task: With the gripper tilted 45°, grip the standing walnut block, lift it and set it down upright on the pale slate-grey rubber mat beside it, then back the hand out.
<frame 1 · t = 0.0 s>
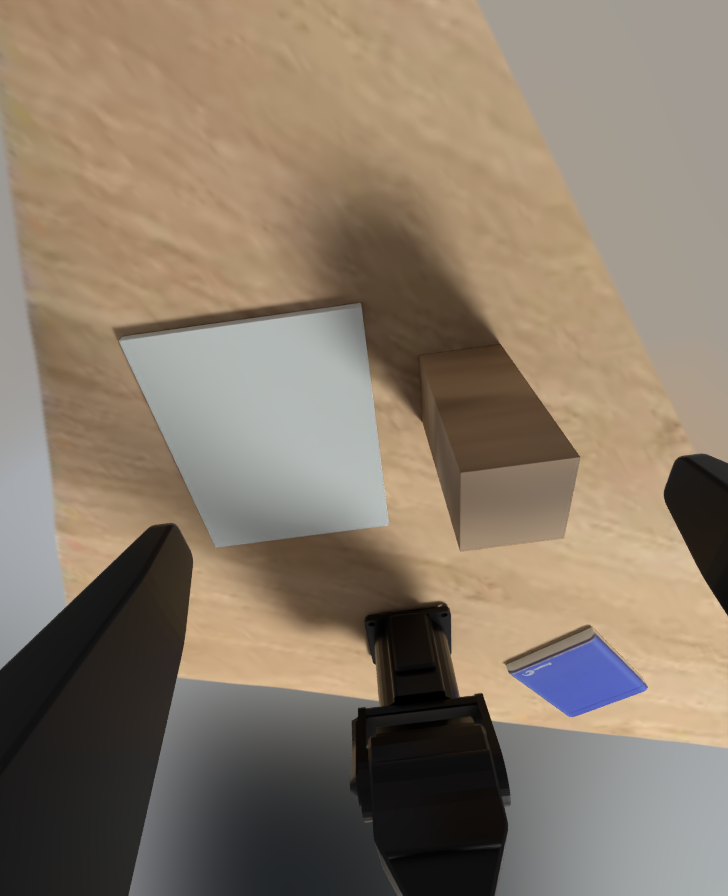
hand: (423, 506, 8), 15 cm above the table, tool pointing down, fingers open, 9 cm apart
mat: (276, 442, 25), on the table
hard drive: (574, 664, 43), on the table
walnut block: (459, 385, 24), on the table
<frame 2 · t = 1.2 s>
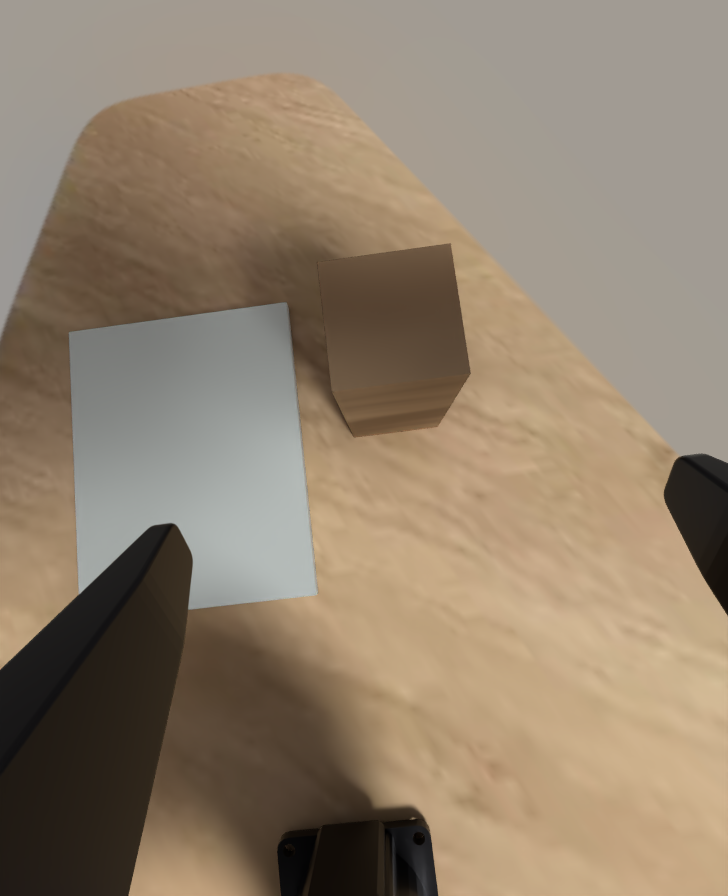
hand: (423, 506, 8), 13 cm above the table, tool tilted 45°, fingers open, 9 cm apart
mat: (190, 458, 23), on the table
walnut block: (390, 391, 23), on the table
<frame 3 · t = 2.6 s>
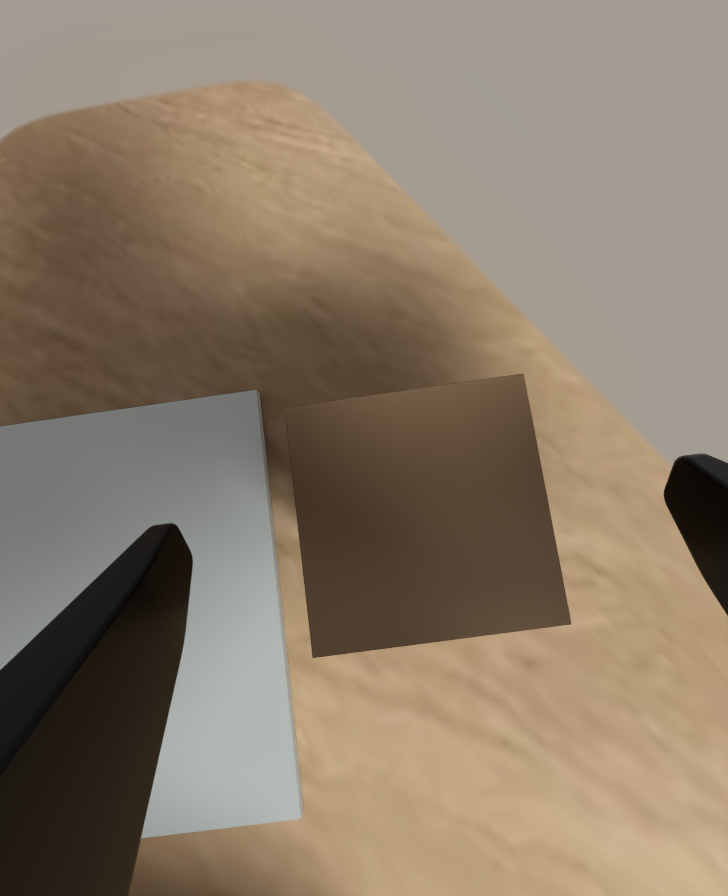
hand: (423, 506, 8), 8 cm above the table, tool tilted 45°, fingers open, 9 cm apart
mat: (124, 608, 16), on the table
walnut block: (400, 512, 16), on the table
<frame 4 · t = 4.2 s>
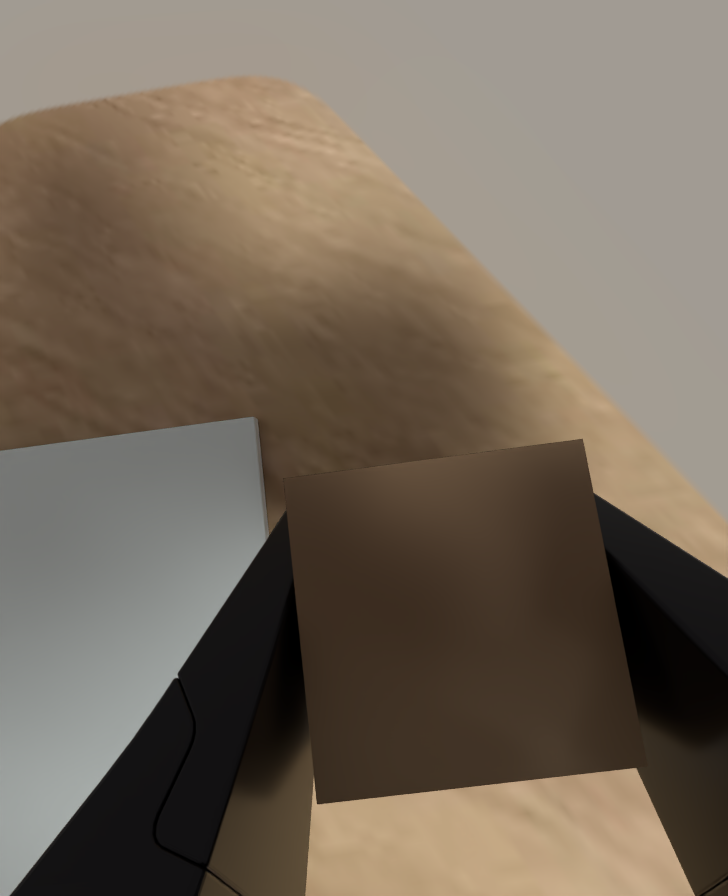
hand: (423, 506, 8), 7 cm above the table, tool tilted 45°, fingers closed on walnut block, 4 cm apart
mat: (107, 657, 15), on the table
walnut block: (412, 553, 15), on the table, touching gripper
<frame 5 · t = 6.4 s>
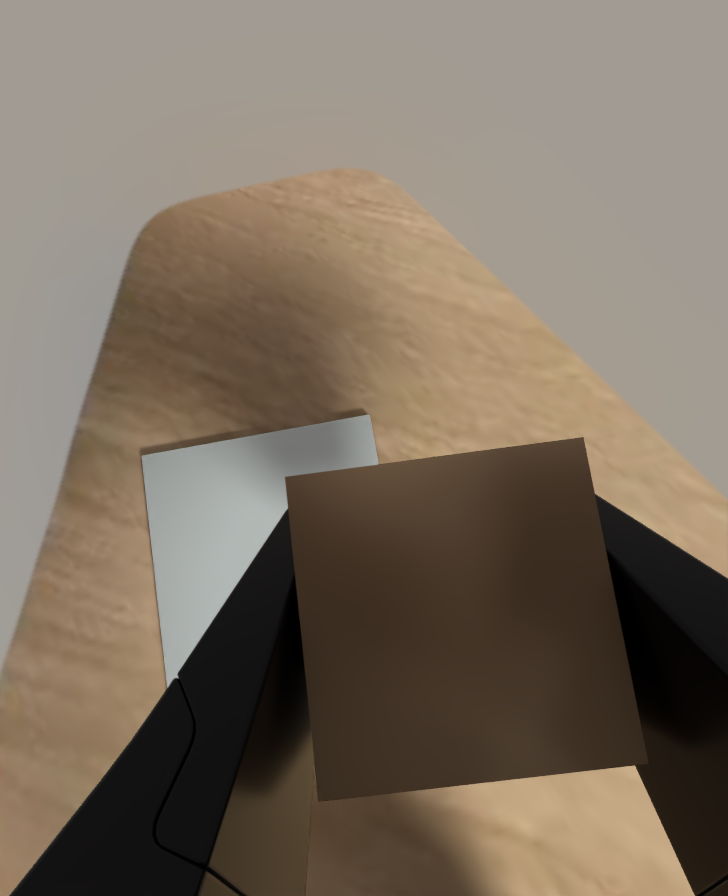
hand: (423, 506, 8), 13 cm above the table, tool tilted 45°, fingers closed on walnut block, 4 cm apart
mat: (279, 583, 22), on the table
walnut block: (412, 552, 15), point 7 cm above the table, touching gripper
when the fingers open (8 cm above the table, at t = 8.9 s): walnut block stays where it is, resting on mat.
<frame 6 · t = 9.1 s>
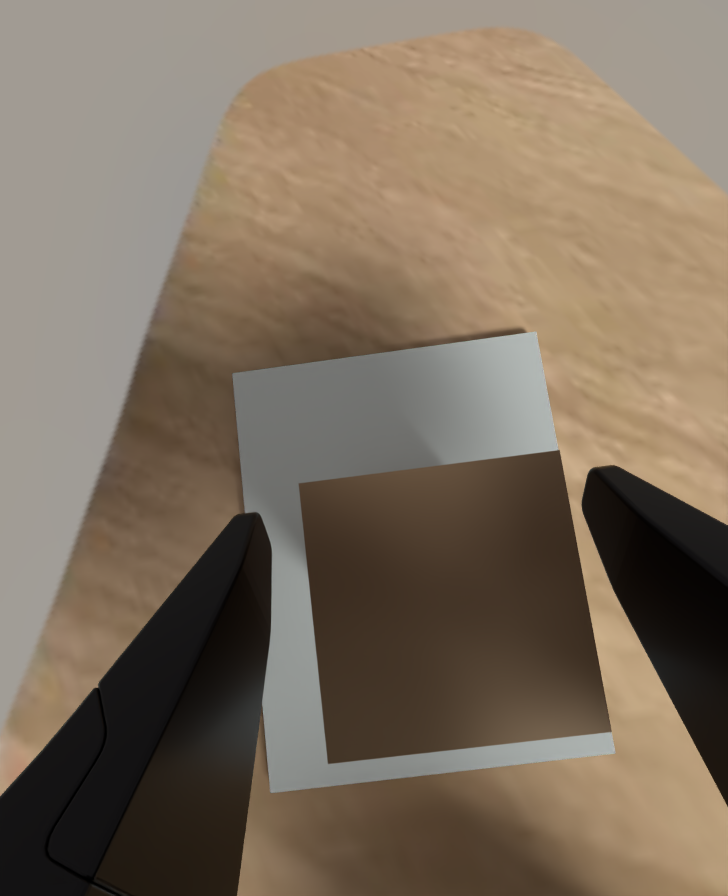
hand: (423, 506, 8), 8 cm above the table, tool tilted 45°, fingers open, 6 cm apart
mat: (409, 548, 16), on the table
walnut block: (411, 550, 16), resting on mat
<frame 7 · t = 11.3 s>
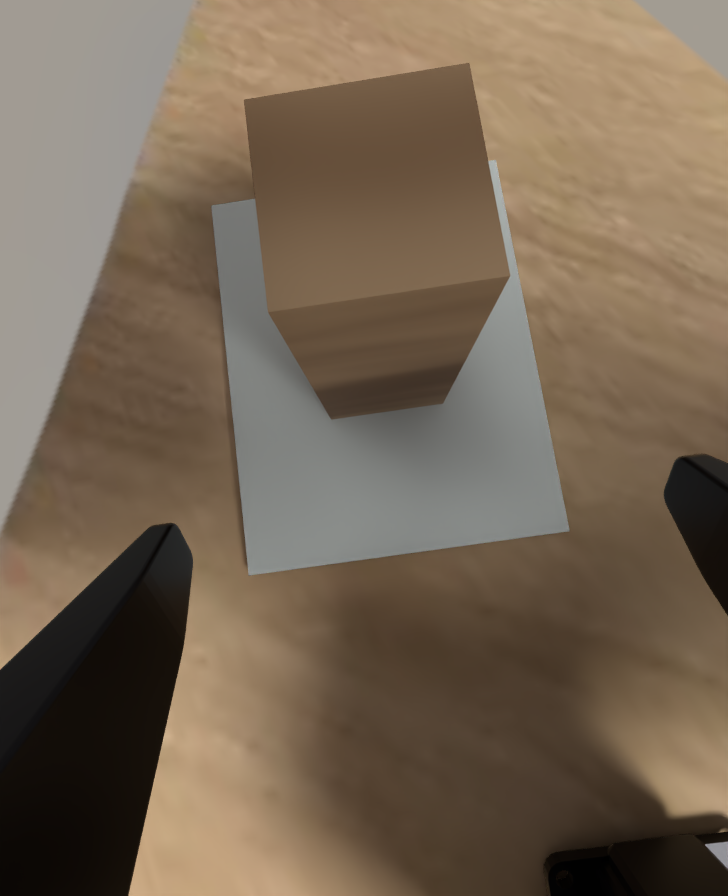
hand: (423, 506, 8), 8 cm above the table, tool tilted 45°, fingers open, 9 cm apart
mat: (378, 361, 17), on the table
walnut block: (379, 357, 17), resting on mat
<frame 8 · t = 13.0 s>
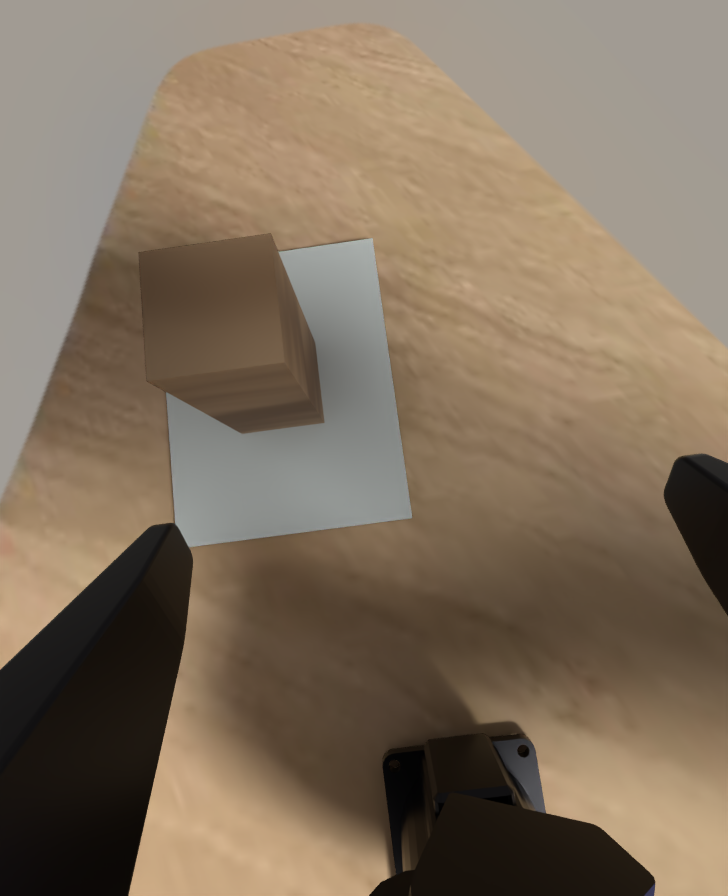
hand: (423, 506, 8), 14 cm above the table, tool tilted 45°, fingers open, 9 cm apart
mat: (280, 390, 23), on the table
walnut block: (278, 387, 22), resting on mat
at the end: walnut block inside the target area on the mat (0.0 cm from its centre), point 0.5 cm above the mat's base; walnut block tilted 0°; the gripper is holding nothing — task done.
